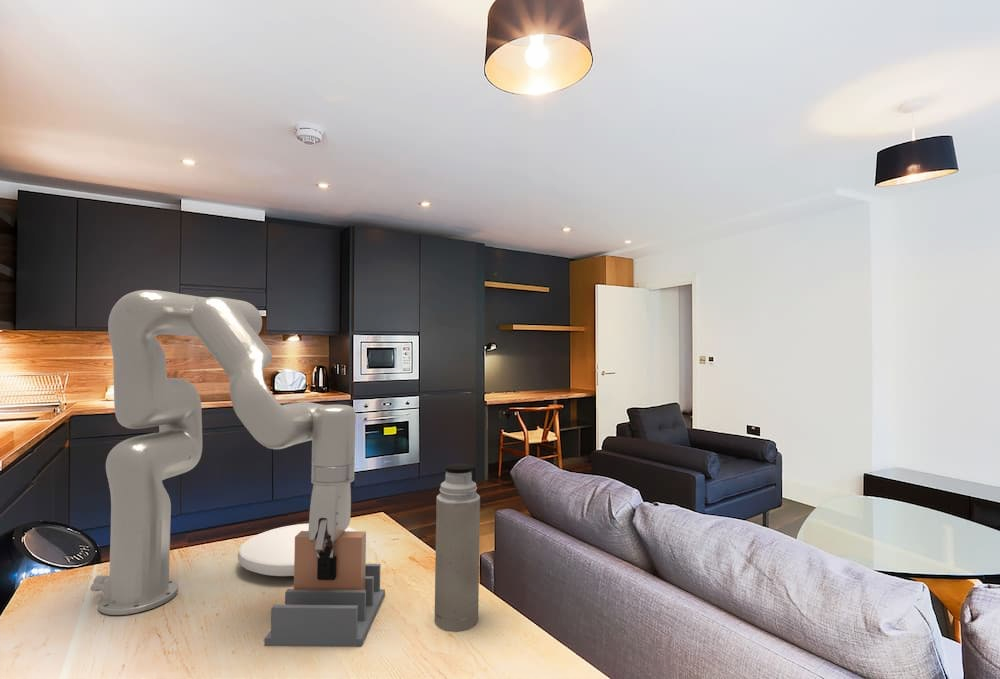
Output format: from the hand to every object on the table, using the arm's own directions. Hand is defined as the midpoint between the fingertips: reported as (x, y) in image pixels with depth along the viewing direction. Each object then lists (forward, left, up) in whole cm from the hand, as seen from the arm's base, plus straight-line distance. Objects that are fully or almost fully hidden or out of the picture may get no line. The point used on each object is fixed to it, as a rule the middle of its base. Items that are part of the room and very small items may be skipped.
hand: (331, 572), depth 92 cm
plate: (-15, +26, -9) cm, 31 cm away
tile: (0, 0, -7) cm, 7 cm away
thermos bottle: (+23, 0, -8) cm, 25 cm away
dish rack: (0, 0, -8) cm, 8 cm away
